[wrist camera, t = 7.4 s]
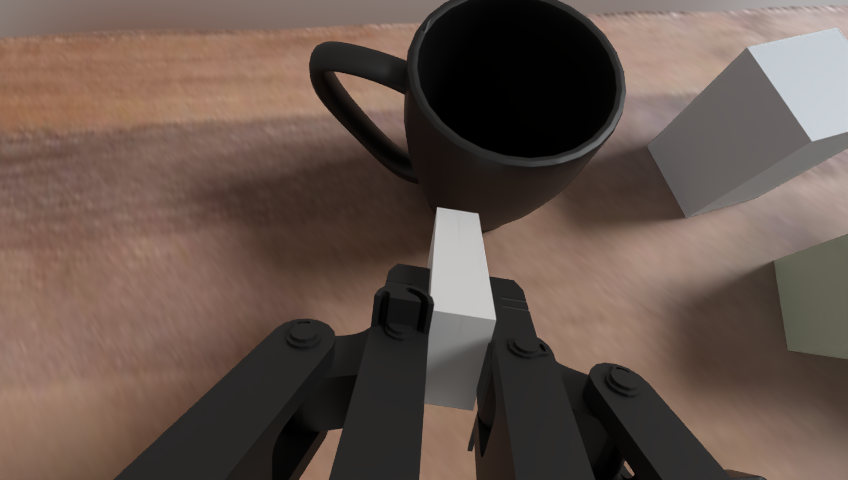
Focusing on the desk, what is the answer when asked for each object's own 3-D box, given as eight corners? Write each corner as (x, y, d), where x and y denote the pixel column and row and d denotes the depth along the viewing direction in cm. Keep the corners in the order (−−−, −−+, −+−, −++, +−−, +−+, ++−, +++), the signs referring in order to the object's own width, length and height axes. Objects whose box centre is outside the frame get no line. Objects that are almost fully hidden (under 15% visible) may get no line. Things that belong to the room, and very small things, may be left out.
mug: (354, 102, 26) (335, -51, 17) (549, 141, 26) (630, 8, 17) (318, 225, 23) (272, 118, 14) (536, 269, 23) (626, 189, 14)
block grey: (713, 125, 27) (833, 23, 20) (757, 197, 26) (906, 115, 18) (644, 142, 27) (743, 42, 19) (686, 218, 25) (811, 141, 18)
